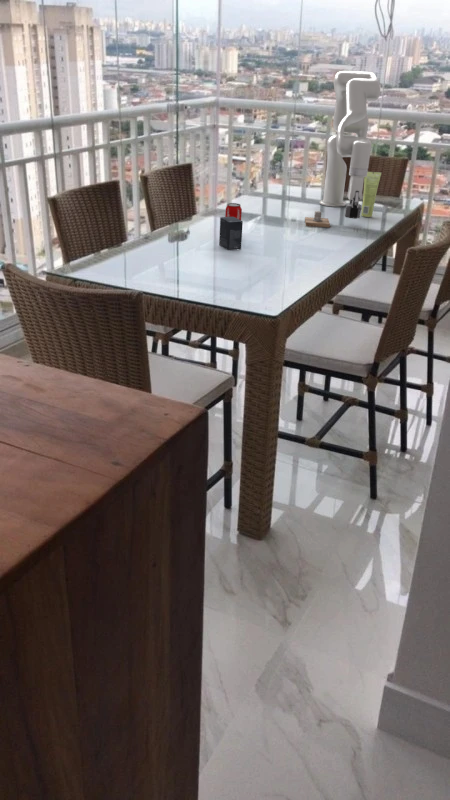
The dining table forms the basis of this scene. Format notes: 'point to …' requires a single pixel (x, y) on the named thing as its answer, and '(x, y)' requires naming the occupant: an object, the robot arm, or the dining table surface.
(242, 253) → the dining table surface
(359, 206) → the cap
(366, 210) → the tube
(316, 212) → the stud block
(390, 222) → the dining table surface
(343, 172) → the robot arm
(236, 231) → the box
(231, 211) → the soda can
